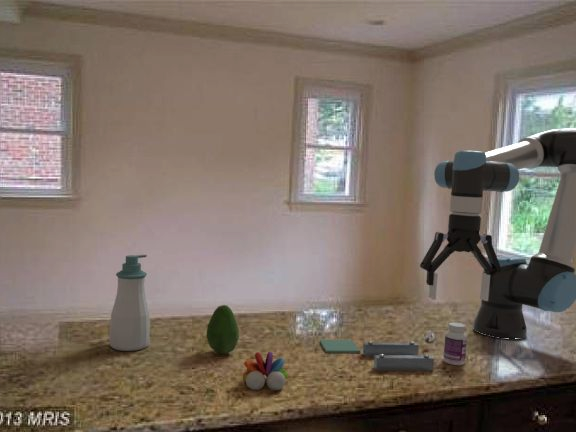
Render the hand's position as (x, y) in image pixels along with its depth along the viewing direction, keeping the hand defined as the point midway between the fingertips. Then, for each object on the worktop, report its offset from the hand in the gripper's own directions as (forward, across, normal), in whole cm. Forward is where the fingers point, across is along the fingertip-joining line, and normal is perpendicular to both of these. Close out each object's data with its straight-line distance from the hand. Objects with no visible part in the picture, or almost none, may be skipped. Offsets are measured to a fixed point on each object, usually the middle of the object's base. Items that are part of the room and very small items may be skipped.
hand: (458, 299), depth 138 cm
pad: (+16, +27, -11) cm, 33 cm away
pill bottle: (+16, 0, 0) cm, 16 cm away
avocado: (+17, +58, -6) cm, 60 cm away
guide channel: (+16, +15, 0) cm, 22 cm away
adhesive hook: (+17, -3, -18) cm, 25 cm away
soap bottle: (+17, +81, -11) cm, 83 cm away
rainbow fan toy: (+17, +49, +14) cm, 53 cm away
